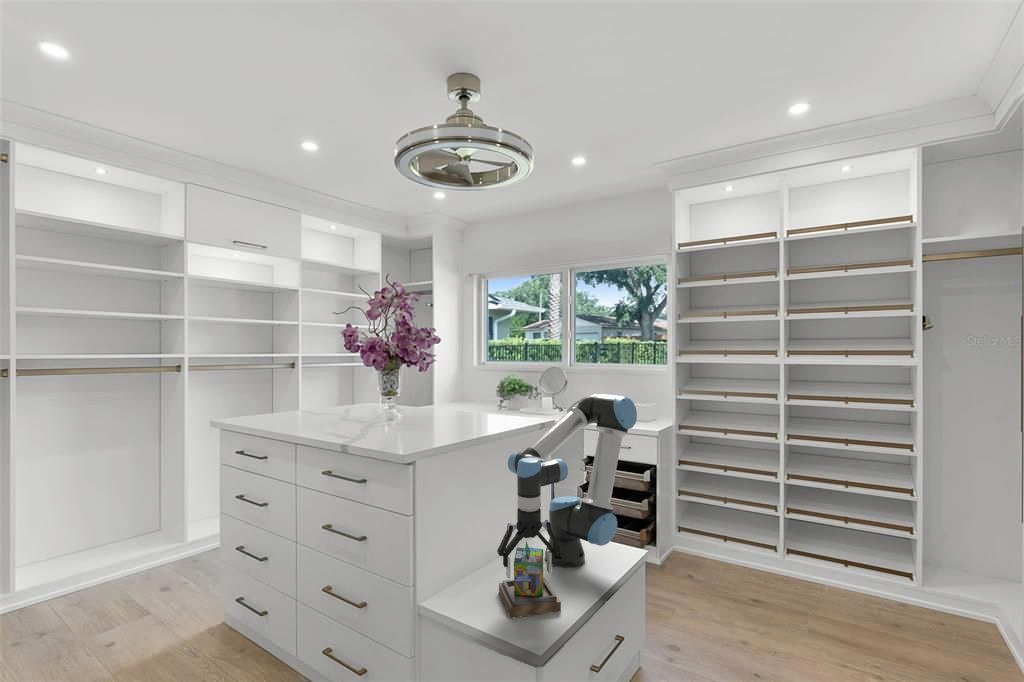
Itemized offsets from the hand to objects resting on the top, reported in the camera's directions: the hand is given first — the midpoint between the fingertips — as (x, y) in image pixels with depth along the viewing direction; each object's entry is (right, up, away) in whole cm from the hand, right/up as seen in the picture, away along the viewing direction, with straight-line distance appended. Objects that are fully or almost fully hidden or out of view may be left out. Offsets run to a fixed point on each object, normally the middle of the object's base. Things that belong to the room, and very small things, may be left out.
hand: (528, 574), depth 160 cm
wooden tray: (0, -9, 0) cm, 9 cm away
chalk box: (0, -5, +1) cm, 5 cm away
